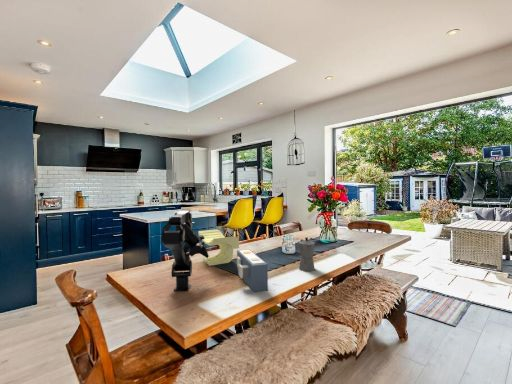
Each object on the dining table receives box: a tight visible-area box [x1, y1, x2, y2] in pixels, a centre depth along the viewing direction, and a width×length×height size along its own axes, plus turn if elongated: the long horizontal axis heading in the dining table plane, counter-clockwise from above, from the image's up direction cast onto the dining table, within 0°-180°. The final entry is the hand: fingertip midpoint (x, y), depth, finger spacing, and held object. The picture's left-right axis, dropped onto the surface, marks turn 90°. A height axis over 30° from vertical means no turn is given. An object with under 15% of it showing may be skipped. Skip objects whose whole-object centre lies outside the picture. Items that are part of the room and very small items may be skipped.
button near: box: [238, 264, 250, 279], centre depth 127 cm, size 6×5×5 cm
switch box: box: [236, 249, 269, 293], centre depth 135 cm, size 7×30×12 cm, turn 18°
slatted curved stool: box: [197, 229, 240, 267], centre depth 170 cm, size 30×16×18 cm, turn 29°
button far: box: [236, 255, 242, 268], centre depth 142 cm, size 6×5×5 cm
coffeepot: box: [298, 236, 316, 272], centre depth 153 cm, size 15×9×18 cm, turn 12°
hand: (207, 257), depth 135 cm, fingers closed
